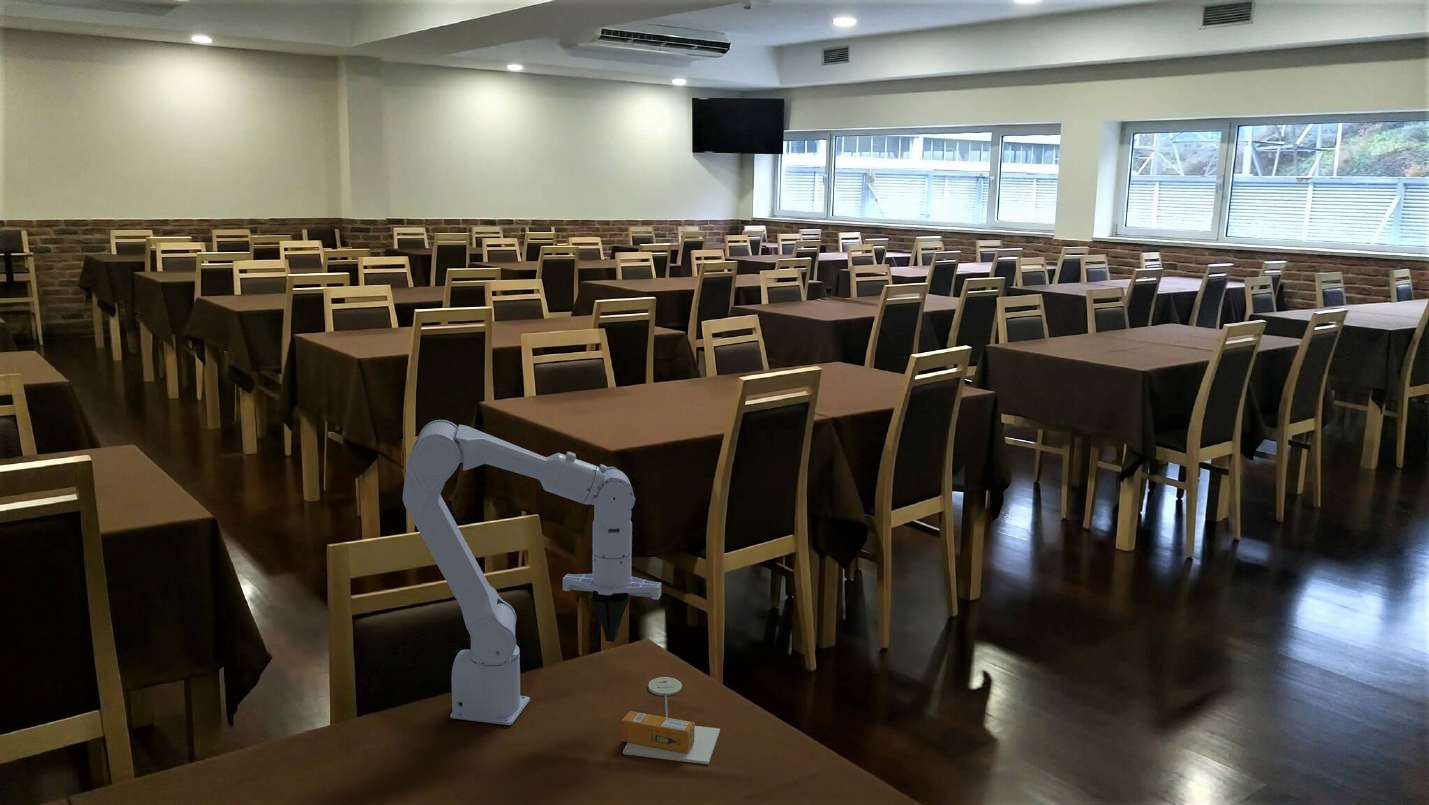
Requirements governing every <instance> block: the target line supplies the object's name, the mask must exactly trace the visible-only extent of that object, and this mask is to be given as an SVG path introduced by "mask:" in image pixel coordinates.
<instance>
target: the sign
mask: <svg viewBox="0 0 1429 805" xmlns="http://www.w3.org/2000/svg"><path fill="white" fill-rule="evenodd" d="M682 689H683V684H682V682H681V681H680V680H678V679H677V678H674V677H669V676H661V677H660V676H659V677H655V678H653V679H651V680H650V681H649V682H648V691H649V692H650V693H652V694H654V695H657V696H662V697H664V711H665V717H667V718H669V716H668V714H669V712H668V709H669V708H668V696H669V697H670V696H674V695H677V694H679V693H680V692H681V691H682Z"/></svg>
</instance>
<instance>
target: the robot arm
mask: <svg viewBox="0 0 1429 805" xmlns="http://www.w3.org/2000/svg"><path fill="white" fill-rule="evenodd" d="M461 463H463V465H462V466H463V468H462V471H468V470H470V469H474V468H477V467H480V466H482V465H487V466H488V465H489V466H492V467H495V468H500V469H502V470H506V471H509V472H513V473H516V474H519V475H523V476H526V477H530V478H533V479H536V480H538V481H539V482H540V483H541V486H542V488H543V490H544V491H546V492H548V493H551V494H554V495H557V496H560V497H563V498H564V499H565V498H566V499H569V500H571V501H575V502H577V503H580V504H583V505H593V506H594V509H593V510H594V511H593V513H594V519H593V521H592V556H591V557H592V563H591V564H592V566H591V567H592V573H577V574H571V573H567V574H566V575H565V576H563V578H562V591H565V592H571V590H573V591H581V592H583V591H584V592H590V593H591V592H592V595H591V596H592V597H591V598H590V604H591V606H592V608H593V610H594V611H595V612H596V615H597V617H598V619H599V622H600V624H601V628H602V631H603V635H604V641H605V642H609V643H610V642H611V643H615V642H616V640H617V638H619V637H618V636H619V632H620V631H619V630H620V626H621V622H622V619H623V615H624V613H625V610H626V608H627V606H628V604H629V602H630V599H631V597H632V596H633V597H645V598H651V600H655V601H656V600H657V601H658V600H659V599H660V598H661V596H662V582H657V581H652V580H648V579H643V578H640V577H636V576H632V561H633V560H632V555H633V553H632V551H633V550H632V547H633V546H632V545H633V543H632V542H633V534H632V533H633V523H632V521H631V520H632V519H631V518H632V509H633V507H634V506H635V502H636V497H635V494H634V491H633V490H634V489H633V487H632V484H631V482H630V479H629V478H628V476H627V475H626V474H625V473H624V472H623V471H622V470H620V469H618V468H617V467H615V466H606V465H605V464H601V463H600V464H599V466H598V465H595V464H591V463H589V462H586V461H583V460H581V459H577V456H576V453H574V452H571V451H566V454H563V453H560V452H557V453H554V454H552V455H549V456H544V455H541V454H539V453H537V452H534V451H531V450H528V449H526V448H523V447H521V446H518V445H515V444H514V443H511V442H508V441H506V440H504V439H501V438H498V437H495V436H494V435H491V434H488V433H486V432H483V431H480V430H478V429H476V428H473V427H472V426H471V427H470V426H468V425H463V424H458V425H457V424H455V423H454V422H453V421H449V420H445V419H437V420H433V421H430V422H429V423H426V425H425V426H423V427H422V429H421V430H420V432H419V434H418V436H417V438H416V439H415V442H414V443H413V446H412V448H411V452H410V455H409V457H408V458H407V460H406V464H405V465H406V466H405V467H406V470H405V476H404V477H405V478H404V483H403V484H404V485H403V489H402V490H403V492H402V502H403V505H404V507H405V508H406V511H407V512H408V514H409V516H410V518H411V520H412V522H413V523H414V526H415V527H416V529H417V531H418V532H419V534H420V535H421V537H422V538H421V539H423V540H422V541H424V543H425V545H426V547H427V548H428V551H429V552H430V554H431V556H432V557H433V559H434V561H435V563H436V565H437V566H438V568H439V570H440V573H441V574H442V576H443V577H444V579H445V581H446V583H447V585H448V587H449V589H450V590H451V592H452V594H453V596H454V597H455V599H456V601H457V603H458V604H459V605H458V606H460V610H461V614H462V617H463V620H464V624H465V627H466V628H465V629H467V631H468V633H469V635H470V636H469V637H470V649H462V650H460V651H459V652H458V653H457V655H456V656H455V659H454V661H453V664H452V670H451V703H452V708H451V709H452V711H451V713H450V719H457V720H464V721H472V722H479V723H489V724H497V725H507V726H511V725H513V724H514V723H515V721H516V720H517V718H518V717H519V716H520V714H521V713H522V712H523V710H524V709H525V707H526V706H527V705H528V703H529V702H530V701H531V698H530V696H525V695H521V669H520V668H521V667H520V666H521V665H520V663H521V662H520V661H521V660H520V658H521V657H520V647H519V646H518V644H517V638H516V624H517V614H516V611H515V609H514V608H513V606H512V605H511V604H509V603H508V602H506V601H505V600H503V599H502V598H501V597H500V595H499V593H498V592H497V590H496V589H495V588H494V587H493V586H492V585H490V583H489V581H488V579H487V578H486V576H485V574H484V572H483V570H482V569H481V567H480V565H479V563H478V561H477V560H476V558H475V556H474V554H473V551H472V550H471V548H470V546H469V545H468V543H467V541H466V539H465V538H464V536H463V533H462V532H461V530H460V528H459V526H458V524H457V523H456V520H455V518H454V517H453V515H452V513H451V512H450V509H449V508H448V506H447V504H446V502H445V501H444V499H443V497H442V491H443V489H444V486H445V483H446V482H447V481H448V479H450V477H451V476H452V475H453V474H454V472H455V471H456V470H457V468H458V467H459V465H460V464H461Z"/></svg>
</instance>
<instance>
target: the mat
mask: <svg viewBox="0 0 1429 805" xmlns="http://www.w3.org/2000/svg"><path fill="white" fill-rule="evenodd" d="M720 732H721V728H717V727H710V726H700V725H699V726H698V725H695V733H694V744H693V746H692V747H691V749H690V750H689V752H688V753H682V752H677V751H672V750H667V749H662V748H656V747H651V746H646V745H640V744H635V743H630V742H626V745H625V747H624V748H623V751H622V755H629V756H635V757H644V758H645V757H646V758H651V759H652V758H654V759H660V760H661V759H662V760H669V761H677V762H684V763H685V762H686V763H692V764H694V763H695V764H701V765H710V762H711V759H712V755H713V752H714V750H715V747H716V743H717V741H718V739H719V735H720Z"/></svg>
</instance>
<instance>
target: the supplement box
mask: <svg viewBox="0 0 1429 805" xmlns="http://www.w3.org/2000/svg"><path fill="white" fill-rule="evenodd" d="M695 726H696V724H695V722H694V721H688V720H684V719H676V718H672V717H668V718H667V717H666V716H662V715H655V714H649V713H644V712H643V713H642V712H637V711H632V710H631V711H630V710H629V711H628V712H627V713H626V714H625V716H624V717H623V718H622V720H621V736H620V737H621V739H620V740H621V741H622V742H626V743H627V742H630V743H635V744H640V745H646V746H651V747H656V748H662V749H667V750H672V751H677V752H682V753H688V752H689V750H690V749H691V747H692V746H693V744H694V733H695Z"/></svg>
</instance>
